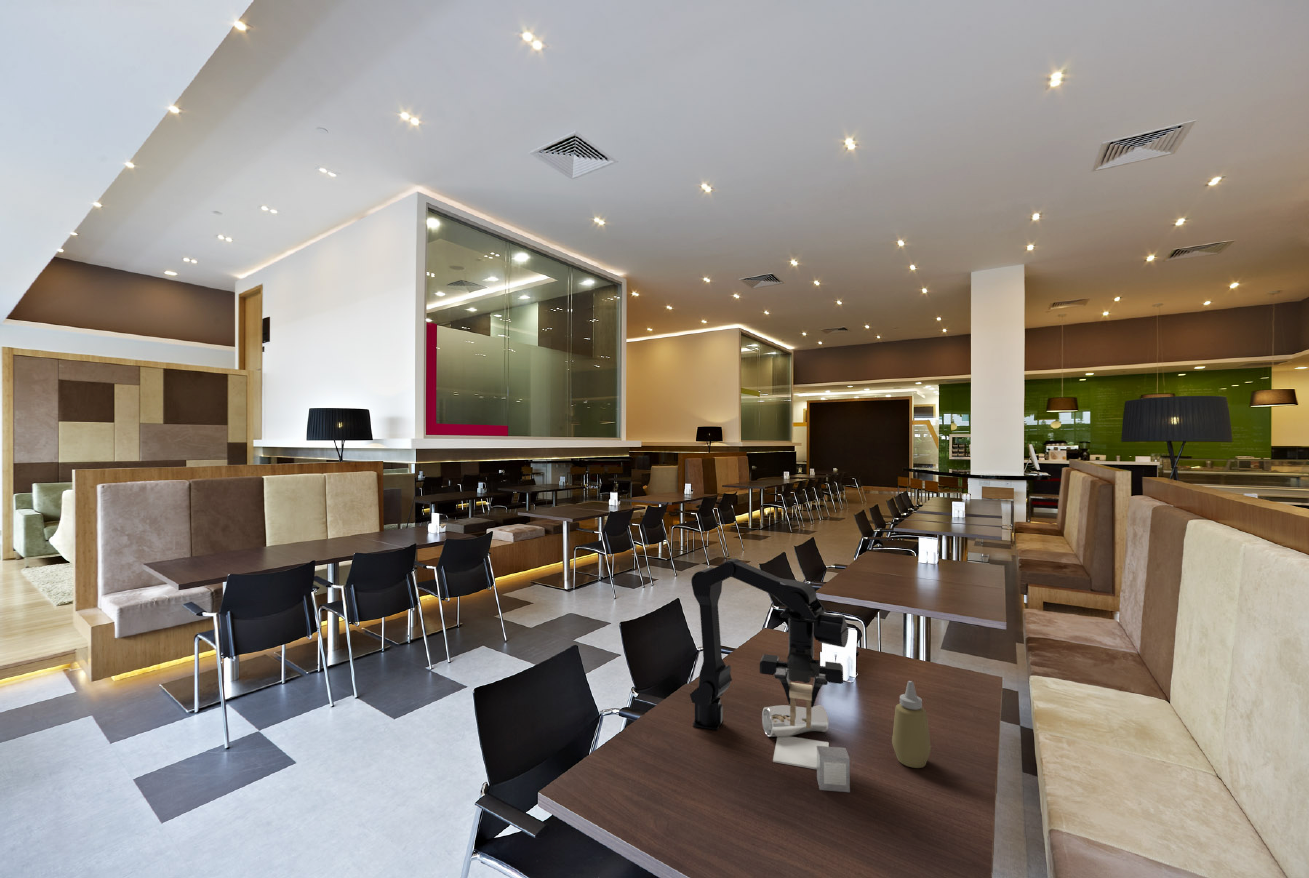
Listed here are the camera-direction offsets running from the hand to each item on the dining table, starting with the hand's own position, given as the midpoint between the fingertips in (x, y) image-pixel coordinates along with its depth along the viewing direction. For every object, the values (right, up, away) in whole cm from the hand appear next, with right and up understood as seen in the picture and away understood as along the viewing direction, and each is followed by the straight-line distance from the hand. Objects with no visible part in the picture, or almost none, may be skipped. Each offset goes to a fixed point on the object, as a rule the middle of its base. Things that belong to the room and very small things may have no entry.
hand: (801, 705), depth 129 cm
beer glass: (+8, -8, +10) cm, 16 cm away
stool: (0, -4, 0) cm, 4 cm away
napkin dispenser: (+3, -11, -13) cm, 17 cm away
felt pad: (0, -11, 0) cm, 11 cm away
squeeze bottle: (+24, -11, -4) cm, 27 cm away
